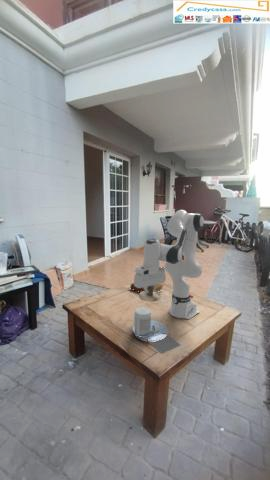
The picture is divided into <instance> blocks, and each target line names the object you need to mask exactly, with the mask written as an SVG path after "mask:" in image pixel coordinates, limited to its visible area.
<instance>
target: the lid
mask: <svg viewBox="0 0 270 480" xmlns="http://www.w3.org/2000/svg"><path fill="white" fill-rule="evenodd" d="M147 290H149V293H147V294H146V293H145V291H142V292H140V293H139V292H138V298H139V299H140V300H142V301H145V302H151V303H153V302H157V301H159V300H161V294H160V292H159V293H158V292H153V286H148V287H147Z"/></svg>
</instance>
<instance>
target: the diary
mask: <svg viewBox="0 0 270 480" xmlns="http://www.w3.org/2000/svg"><path fill="white" fill-rule="evenodd" d="M151 286H153V285H151ZM163 287H164V284H162V283H160V284H157V287H156V288H155V292H158V291H160V290H161V289H162V290H163ZM130 288H131V289H134V290H136V291H139V292H142V291H145V290H144V288H143V287H142V288H137V287H135V286H134V282H133V283H131V284H130ZM136 291H135V292H136ZM139 292H138V293H139Z"/></svg>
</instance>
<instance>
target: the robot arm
mask: <svg viewBox="0 0 270 480" xmlns="http://www.w3.org/2000/svg"><path fill="white" fill-rule="evenodd" d="M204 224H205V219H204V216H203V214H201V213H190V212H189V213H188V211H186V210H185V209H179V210H176V211H175V213H174V214H172V216H171V218H169V220H168V221H167V224H166V229H167V232H168V233H169V234H170V235H171V236H173V237H174V238H177V239H176V241H175V244H170V245H169V244H165V243H160V240H159V239H157V238H150V239H147V240H146V241H145V243H144V248H143V263H142V265H140V266H138V267H137V268H135V270H134V272H135V274H134V278H133V283H134V286H135V287H137V288H142V287H143V288H144V290H145V293H146V294H147V293H149V290H147V287H148V286H151V285H153V292H155V288H156V287H157V284H163V283H165V282H166V279H167V278H166V277H167V276H166V272H167V274H168V275H169V276H170V277H171V280H172V284H173V285H172V286H173V287H172V295H171V302H170V303H171V304H170V307H169V314H170V316H172V317H174V318H177V319H185V320H190V319H192V318H194V317H195V316H197V315H198V314H200V313H199V312H200V310H199V309H198V308H197V304H196V302H194V301H193V300H192V299H193V298H194V295H193V294H190V283H189V282H188V281H187V280H185V279H184V277H185V278H189V279H199V277H201V276H202V273H203V268H202V265H201V264H200V263H199V261H198V260H197V258H196V257H197V256H196V250H197V249H196V247H197V242H198V232H199V231H200V230H201V229H202V228H203V227H204ZM182 256H183V257H184V258H185V259H182ZM160 262H165V263H164V266H160ZM197 313H198V314H197ZM196 314H197V315H196Z"/></svg>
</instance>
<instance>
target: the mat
mask: <svg viewBox="0 0 270 480" xmlns="http://www.w3.org/2000/svg"><path fill="white" fill-rule="evenodd" d="M147 343H148V344H149V345H151V346H152V347H153V348H154V349H155V350H157V351H158V353H160V354H164V353H167V352H168V351H171V350H173V349H175V348H178V347H180V346H181V343H179V342H178V341H177V340H175V338H173V337H171V336H170V335H168V334H167V336H166V337H165V338H164V339H162V340H159V341H156V342H150V341H147Z"/></svg>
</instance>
